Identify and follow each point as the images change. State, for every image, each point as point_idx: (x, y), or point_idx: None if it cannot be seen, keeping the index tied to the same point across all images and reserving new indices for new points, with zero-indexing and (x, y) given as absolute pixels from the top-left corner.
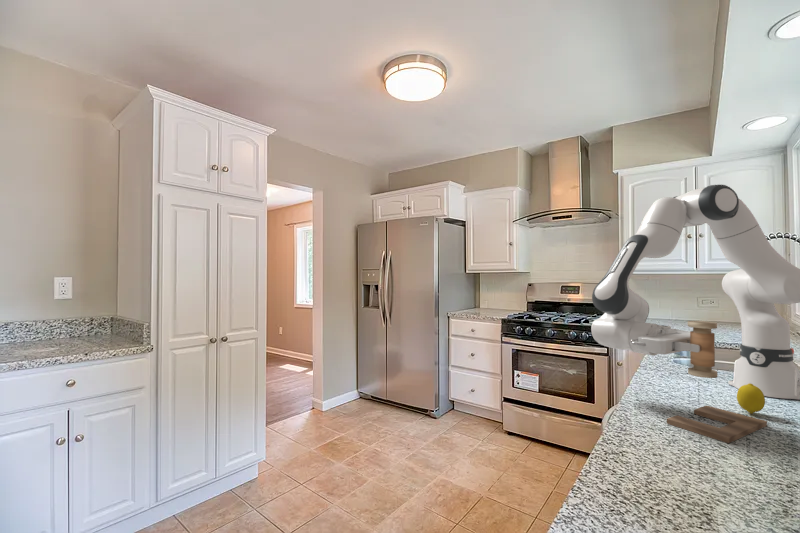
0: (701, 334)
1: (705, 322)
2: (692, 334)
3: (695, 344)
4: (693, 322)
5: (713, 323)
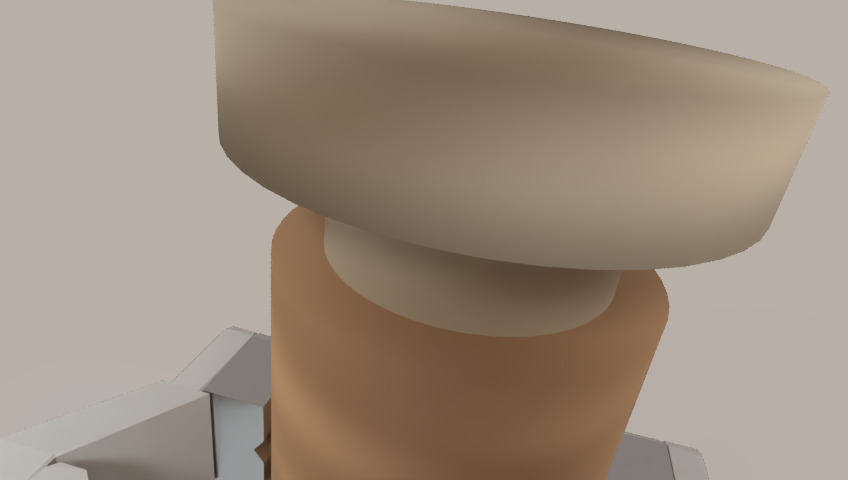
0: (641, 271)
1: (503, 24)
2: (632, 383)
3: (673, 473)
4: (790, 82)
5: (544, 20)
